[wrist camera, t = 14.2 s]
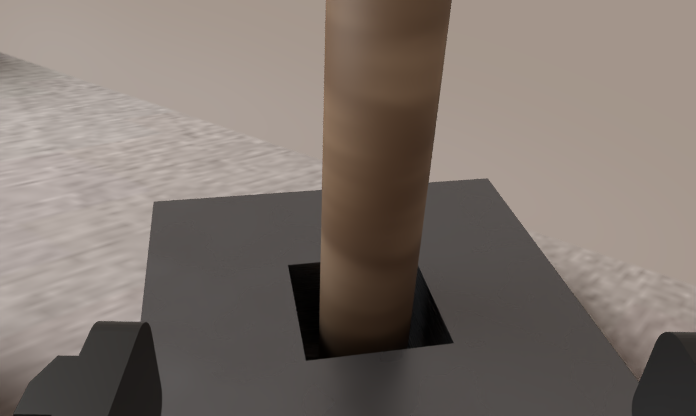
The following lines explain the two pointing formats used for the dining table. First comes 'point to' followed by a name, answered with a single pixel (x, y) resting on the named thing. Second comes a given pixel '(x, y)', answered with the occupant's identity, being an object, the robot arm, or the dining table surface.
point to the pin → (376, 166)
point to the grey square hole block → (382, 367)
